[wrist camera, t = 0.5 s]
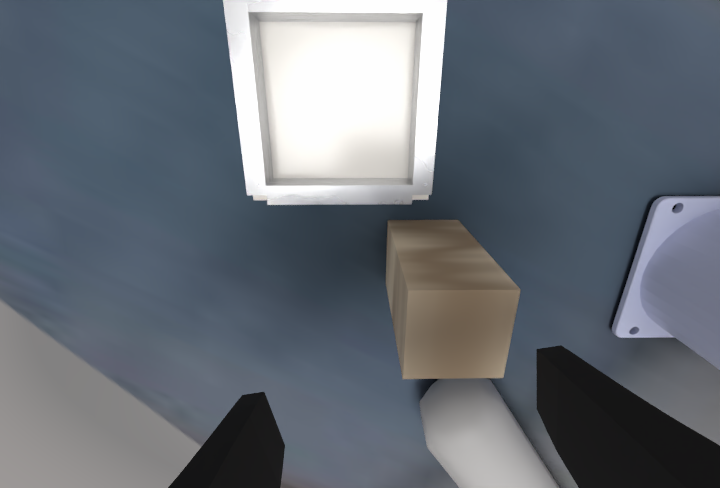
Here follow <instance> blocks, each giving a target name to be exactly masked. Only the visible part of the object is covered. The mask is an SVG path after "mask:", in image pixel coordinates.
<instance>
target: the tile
mask: <svg viewBox="0 0 720 488" xmlns="http://www.w3.org/2000/svg"><path fill="white" fill-rule="evenodd" d="M259 25H260V36H261V47H262V58H263V68H264V79H265V90H266V101H267V112H268V123H269V134H270V145H271V155H272V166H273V177H274V178H408V163H409V144H410V125H411V106H412V87H413V68H414V49H415V30H416V22H259ZM428 196H429V195H412V200H428ZM253 199H254V200H267V195H253Z"/></svg>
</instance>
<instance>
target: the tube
mask: <svg viewBox="0 0 720 488" xmlns="http://www.w3.org/2000/svg"><path fill="white" fill-rule="evenodd" d="M420 411H421V419H422V424H423V429H424V434H425V438H426V443H427V448H428V449H429V450H430V451H431V453H432V454H433V455H434V456H435V458H436V459H437V460H438V461H439V463H440V464H441V465H442V466H443V468H444V469H445V470H446V471H447V473H448V474H449V475H450V476H451V478H452V479H453V480H454V481H455V483H456V484H457V485H458V486H459V488H559V486H558V484H557V483H556V481H555V480H554V478H553V477H552V475H551V474H550V472H549V470H548V469H547V467H546V466H545V464H544V463H543V461H542V460H541V458H540V456H539V455H538V453H537V452H536V450H535V449H534V447H533V445H532V444H531V442H530V441H529V439H528V438H527V436H526V435H525V433H524V431H523V430H522V428H521V427H520V425H519V424H518V422H517V420H516V419H515V417H514V416H513V414H512V413H511V411H510V410H509V408H508V406H507V405H506V403H505V402H504V400H503V399H502V397H501V396H500V394H499V392H498V391H497V389H496V388H495V386H494V385H493V383H492V381H491V380H490V379H486V378H457V379H438V380H437V381H436V382H435V383H433V384H432V385H431V386H430V388H429V389H428V391H427V392H426V394H425V395H424V396H423V398H422V399H421V401H420Z"/></svg>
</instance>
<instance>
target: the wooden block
mask: <svg viewBox="0 0 720 488" xmlns="http://www.w3.org/2000/svg"><path fill="white" fill-rule="evenodd" d="M386 287H387V293H388V298H389V304H390V310H391V315H392V321H393V327H394V332H395V338H396V344H397V349H398V355H399V361H400V366H401V372H402V378H403V379H457V378H503V376H504V371H505V366H506V361H507V356H508V351H509V346H510V341H511V336H512V331H513V326H514V321H515V316H516V311H517V306H518V301H519V296H520V291H521V290H520V288H519V287H518V286H517V285H516V284H515V283H514V282H513V281H512V279H511V278H510V277H509V276H508V275H507V274H506V273H505V272H504V271H503V269H502V268H501V267H500V266H499V265H498V264H497V263H496V262H495V260H494V259H493V258H492V257H491V256H490V255H489V254H488V253H487V252H486V250H485V249H484V248H483V247H482V246H481V245H480V244H479V243H478V241H477V240H476V239H475V238H474V237H473V236H472V235H471V234H470V233H469V231H468V230H467V229H466V228H465V227H464V226H463V225H462V224H461V222H460V221H459V220H388V228H387V259H386Z"/></svg>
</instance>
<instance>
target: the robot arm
mask: <svg viewBox="0 0 720 488" xmlns="http://www.w3.org/2000/svg"><path fill="white" fill-rule="evenodd" d="M675 204H676V207H675V209H673V210H672V208H673V206H674V205H675ZM631 328H632V329H631ZM630 329H631V330H630ZM612 332H613V333H614V334H615V335H616V336H618V337H620V338H655V337H675V338H676V339H678V340H679V341H681V342H682V343H683V344H685V345H686V346H687V347H689V348H690V349H692V350H693V351H694V352H696V353H697V354H698V355H700V356H701V357H703V358H704V359H705V360H707V361H708V362H709V363H711V364H712V365H714V366H715V367H716V368H718V369H719V370H720V196H663V197H660V198H658V199H656V200H655V201H654V202H653V204H652V206H651V209H650V212H649V215H648V218H647V221H646V224H645V227H644V230H643V233H642V236H641V239H640V243H639V246H638V249H637V252H636V255H635V258H634V261H633V264H632V267H631V270H630V273H629V276H628V279H627V282H626V286H625V289H624V292H623V295H622V298H621V301H620V304H619V307H618V310H617V313H616V316H615V319H614V322H613V325H612ZM537 410H538V412H539V414H540V417H541V419H542V421H543V423H544V425H545V427H546V430H547V432H548V434H549V436H550V438H551V440H552V442H553V444H554V446H555V448H556V450H557V452H558V454H559V455H560V457H561V459H562V460H563V462H564V464H565V465H566V467H567V469H568V470H569V472H570V474H571V475H572V477H573V479H574V480H575V482H576V484H577V485H578V487H579V488H720V446H719V445H718V444H716V443H714V442H713V441H711V440H709V439H707V438H706V437H704V436H702V435H701V434H699V433H697V432H695V431H694V430H692V429H690V428H689V427H687V426H685V425H683V424H682V423H680V422H679V421H677V420H675V419H674V418H672V417H670V416H669V415H667V414H665V413H664V412H662V411H661V410H659V409H657V408H656V407H654V406H653V405H651V404H649V403H648V402H646V401H645V400H643V399H641V398H640V397H638V396H637V395H635V394H634V393H632V392H631V391H629V390H627V389H626V388H624V387H623V386H621V385H620V384H618V383H617V382H615V381H614V380H612V379H611V378H609V377H608V376H606V375H605V374H603V373H602V372H600V371H599V370H597V369H596V368H594V367H593V366H591V365H590V364H588V363H587V362H585V361H584V360H582V359H581V358H579V357H578V356H576V355H575V354H573V353H572V352H570V351H569V350H567V349H566V348H564V347H563V346H555V347H548V348H542V349H537ZM284 448H285V444H284V442H283V439H282V437H281V434H280V432H279V429H278V426H277V424H276V421H275V419H274V416H273V413H272V411H271V408H270V406H269V403H268V400H267V398H266V395H265V393H264V392H260V393H253V394H247V395H242V396H241V398H240V399H239V400H238V401H237V402H236V404H235V405H234V406H233V408H232V409H231V410H230V411H229V413H228V414H227V415H226V416H225V418H224V419H223V420H222V422H221V423H220V424H219V425H218V427H217V428H216V429H215V431H214V432H213V433H212V434H211V436H210V437H209V438H208V440H207V441H206V442H205V443H204V445H203V446H202V447H201V448H200V450H199V451H198V452H197V453H196V455H195V456H194V457H193V458H192V460H191V461H190V462H189V463H188V465H187V466H186V467H185V468H184V470H183V471H182V472H181V473H180V475H179V476H178V477H177V478H176V479H175V480H174V481H173V483H172V484H171V485H170V486H169V487H168V488H280V485H281V476H282V468H283V458H284Z"/></svg>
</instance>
